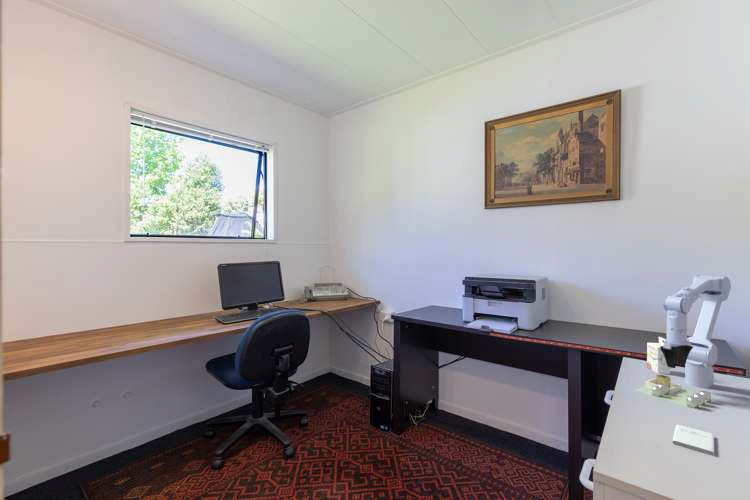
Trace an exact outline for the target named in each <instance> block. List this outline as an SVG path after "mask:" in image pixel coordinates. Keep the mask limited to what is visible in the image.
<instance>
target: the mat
mask: <svg viewBox="0 0 750 500" xmlns="http://www.w3.org/2000/svg"><path fill="white" fill-rule="evenodd" d="M634 391H635V392H638V393H641V394H644V395H648V396H651V397H653V398H658V399H660V400H664V401H666V402H670V403H673V404H676V405H679V406H683V407H686V408H689V409H692V410H695V411H696V410H698V409H695V408H690V407H688V406H687V396H693V393H695V392H693V391H690V390H686V389H683V388H681V390H679V391H677V392H674V393H671V394H670V393H668V395H663V397H656V396H653V395H652V388H650V387H646V386H645V385H644V386H642V387H639V388H636V389H634ZM716 401H719V399H717V398H714V397H712V396H711V403H705V406H707V405H709V404H712V403H714V402H716ZM703 407H704V406H700V405H699V409H701V408H703Z"/></svg>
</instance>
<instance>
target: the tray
mask: <svg viewBox="0 0 750 500" xmlns="http://www.w3.org/2000/svg"><path fill="white" fill-rule="evenodd" d="M653 385H655V386H658V385H657V384H656V377H655V378H651V379H648V380H646V381H645V382H644V386H646V387H650V388H652V386H653ZM681 389H682V384H680V383H676V382H672V381H671V384H670V388H668V393H670V394H671V393H674V392H677V391H679V390H681Z"/></svg>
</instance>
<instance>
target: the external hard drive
mask: <svg viewBox="0 0 750 500" xmlns="http://www.w3.org/2000/svg"><path fill="white" fill-rule="evenodd" d="M672 445H674V446H677V447H678V446H679V447H681V448H686V449H689V450H692V451H695V452H699V453H702V454H706V455H709V456H712V457H715V434H714V433H711V432H707V431H703V430H700V429H696V428H693V427H688V426H685V425H682V424H675V428H674V432H673V437H672Z"/></svg>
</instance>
